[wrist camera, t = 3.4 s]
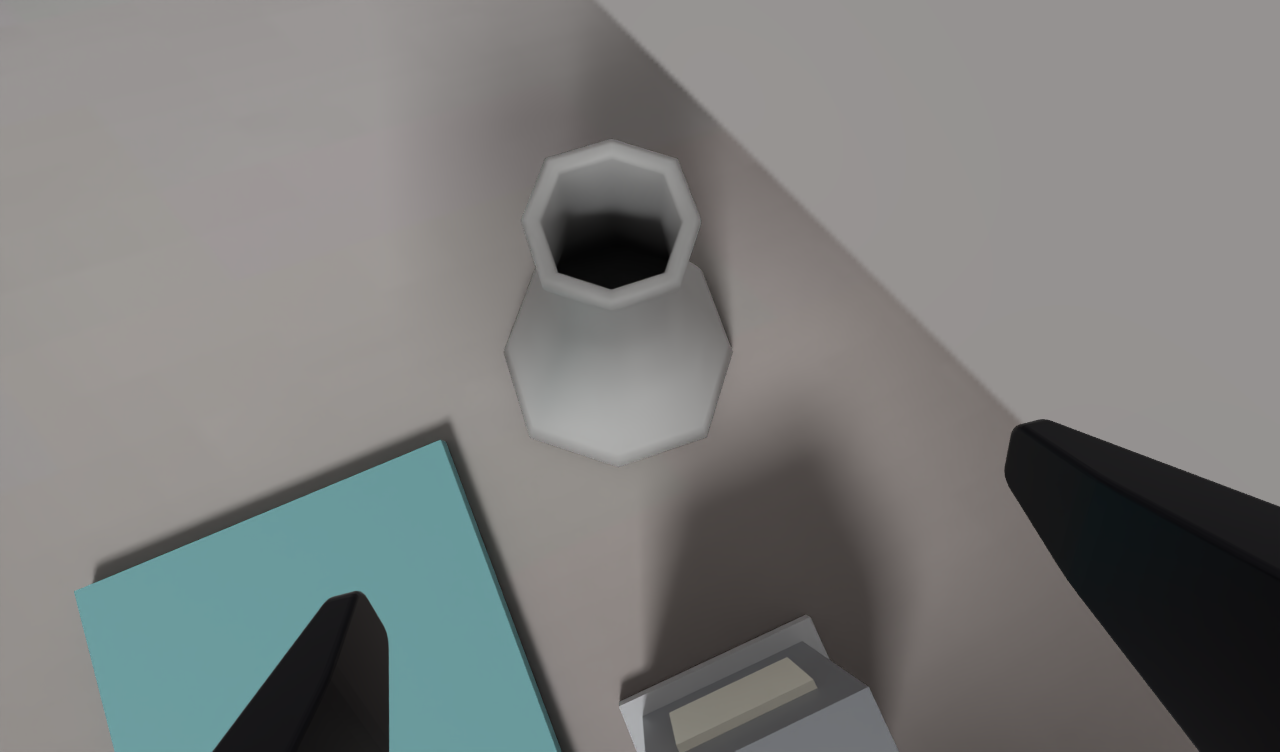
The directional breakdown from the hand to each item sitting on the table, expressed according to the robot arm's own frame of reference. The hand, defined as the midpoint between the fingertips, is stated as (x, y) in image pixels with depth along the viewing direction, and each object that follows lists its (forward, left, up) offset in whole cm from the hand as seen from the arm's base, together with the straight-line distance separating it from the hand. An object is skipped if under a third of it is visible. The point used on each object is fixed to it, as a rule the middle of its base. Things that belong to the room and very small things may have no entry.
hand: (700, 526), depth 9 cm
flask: (+5, -1, -12) cm, 13 cm away
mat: (-1, +11, -12) cm, 16 cm away
